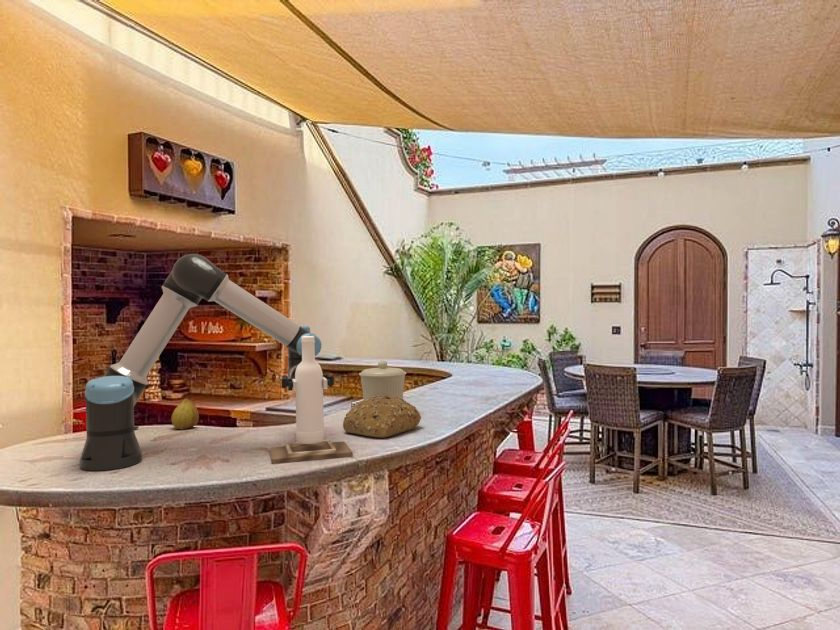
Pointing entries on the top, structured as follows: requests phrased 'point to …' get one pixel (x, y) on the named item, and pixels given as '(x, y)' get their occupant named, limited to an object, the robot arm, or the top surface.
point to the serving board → (309, 451)
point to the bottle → (309, 396)
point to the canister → (382, 381)
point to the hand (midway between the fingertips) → (310, 385)
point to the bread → (381, 417)
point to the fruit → (185, 415)
